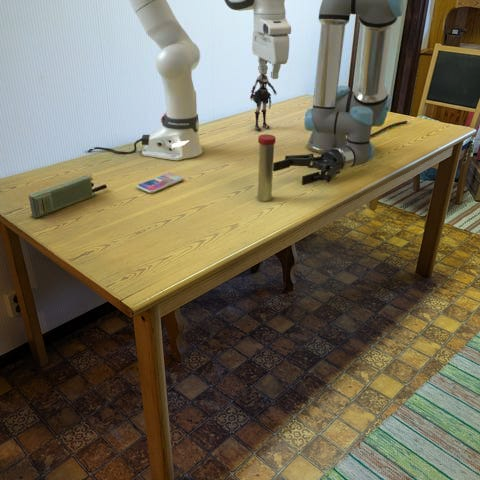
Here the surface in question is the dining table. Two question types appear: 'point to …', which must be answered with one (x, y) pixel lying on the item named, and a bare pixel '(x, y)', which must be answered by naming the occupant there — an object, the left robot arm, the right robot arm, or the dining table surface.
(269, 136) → the lid
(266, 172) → the olive cylindrical rod
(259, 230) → the dining table surface
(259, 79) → the figurine
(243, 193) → the dining table surface
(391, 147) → the dining table surface
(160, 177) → the smartphone
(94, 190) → the handheld radio
